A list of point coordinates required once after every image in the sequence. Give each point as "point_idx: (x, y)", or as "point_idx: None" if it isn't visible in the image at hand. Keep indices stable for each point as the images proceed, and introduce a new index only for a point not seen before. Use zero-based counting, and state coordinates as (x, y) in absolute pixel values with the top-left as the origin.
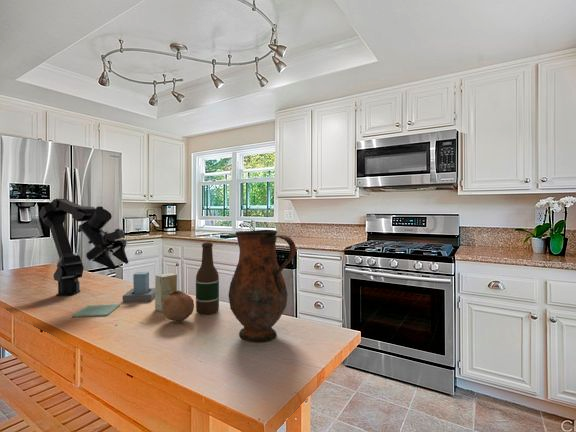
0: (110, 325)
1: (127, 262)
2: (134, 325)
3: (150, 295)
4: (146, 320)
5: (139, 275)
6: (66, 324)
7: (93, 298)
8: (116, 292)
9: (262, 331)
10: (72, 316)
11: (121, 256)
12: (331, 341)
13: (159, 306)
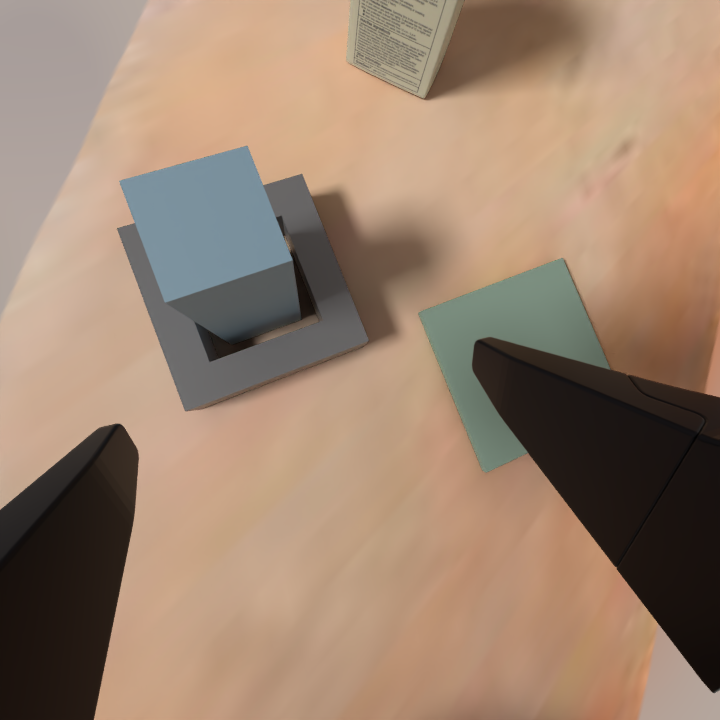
0: (634, 168)
1: (123, 433)
2: (605, 78)
3: (304, 182)
4: (549, 63)
5: (271, 209)
6: (683, 350)
7: (342, 594)
8: (172, 567)
9: None
10: None
11: (54, 621)
12: None
13: (447, 45)
